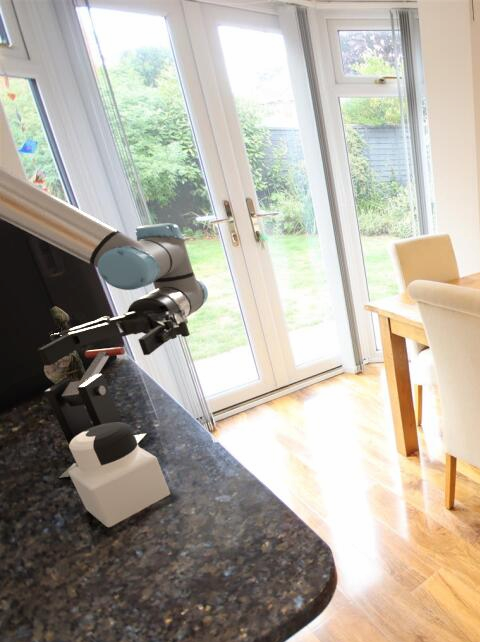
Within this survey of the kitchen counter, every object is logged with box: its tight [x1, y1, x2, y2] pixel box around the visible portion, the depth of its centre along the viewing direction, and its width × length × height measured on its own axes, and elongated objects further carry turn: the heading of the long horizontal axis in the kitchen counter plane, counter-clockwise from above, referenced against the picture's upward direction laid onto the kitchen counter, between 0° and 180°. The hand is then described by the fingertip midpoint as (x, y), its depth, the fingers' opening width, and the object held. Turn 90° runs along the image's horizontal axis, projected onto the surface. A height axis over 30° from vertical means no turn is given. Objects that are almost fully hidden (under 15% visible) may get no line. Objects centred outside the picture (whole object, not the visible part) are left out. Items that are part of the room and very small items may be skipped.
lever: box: [61, 346, 126, 406], centre depth 70 cm, size 11×5×2 cm, turn 13°
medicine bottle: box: [68, 421, 171, 528], centre depth 60 cm, size 7×7×12 cm
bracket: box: [43, 373, 148, 480], centre depth 69 cm, size 10×7×14 cm
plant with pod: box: [43, 306, 86, 409], centre depth 86 cm, size 8×11×20 cm
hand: (94, 352), depth 72 cm, fingers open, 13 cm apart
